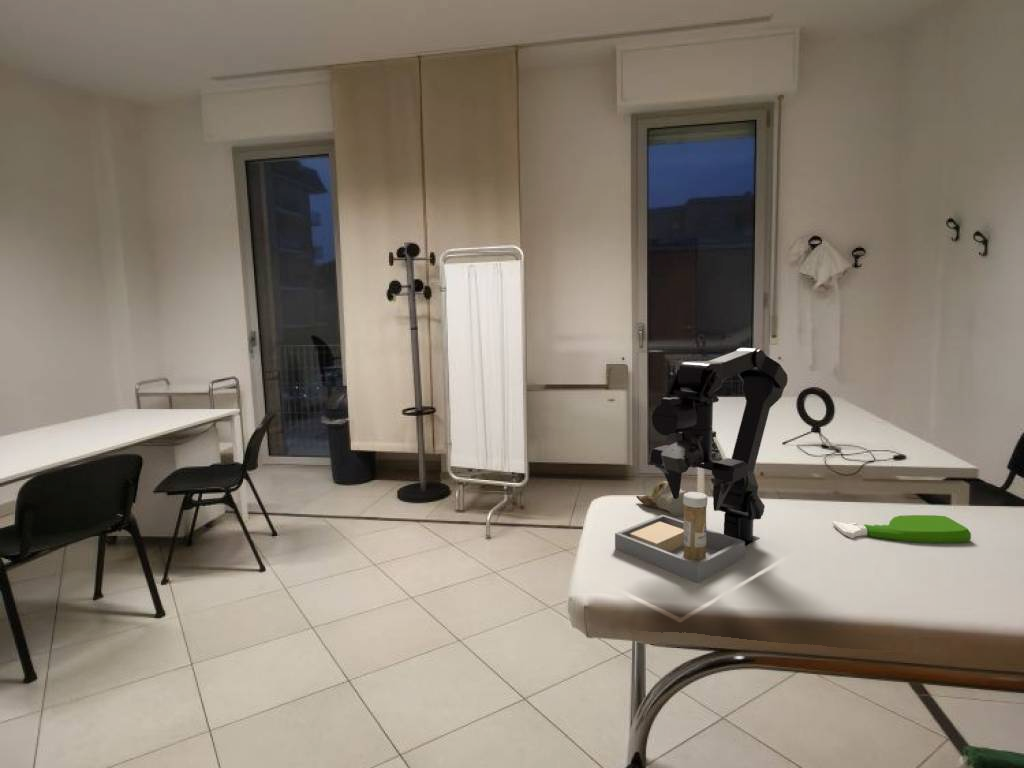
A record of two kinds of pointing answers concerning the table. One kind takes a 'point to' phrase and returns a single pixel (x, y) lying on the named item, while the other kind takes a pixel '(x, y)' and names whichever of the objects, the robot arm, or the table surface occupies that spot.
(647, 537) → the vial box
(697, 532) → the sprinkles bottle
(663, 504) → the ceramic sculpture
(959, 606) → the table surface
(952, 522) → the spray bottle
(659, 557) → the tote
